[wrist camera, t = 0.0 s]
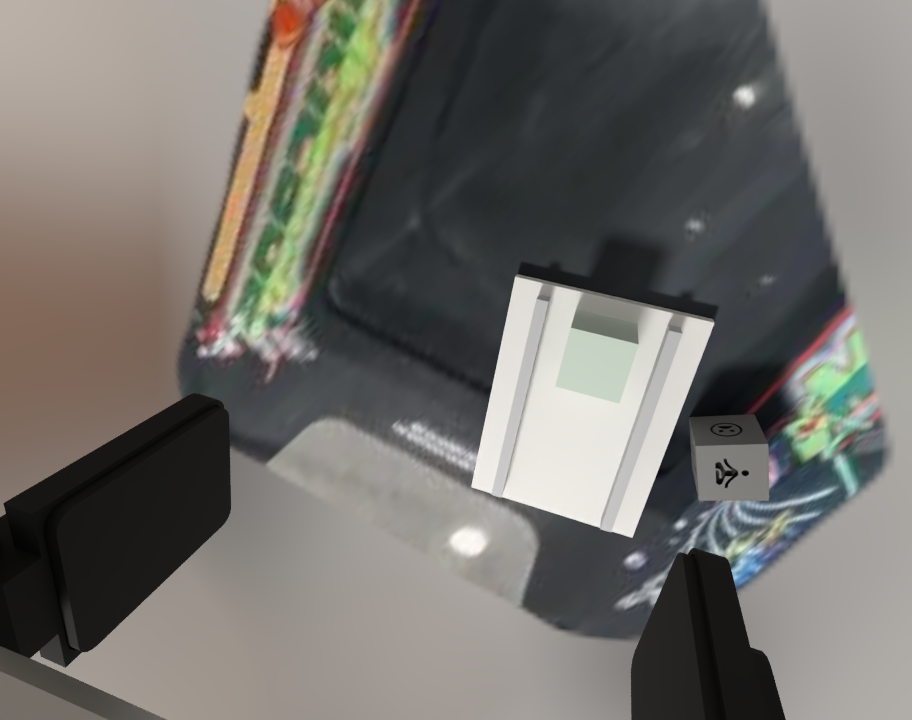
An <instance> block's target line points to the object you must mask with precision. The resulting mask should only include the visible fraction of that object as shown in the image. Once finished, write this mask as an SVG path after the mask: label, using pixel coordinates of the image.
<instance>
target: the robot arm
mask: <svg viewBox="0 0 912 720" xmlns="http://www.w3.org/2000/svg"><path fill="white" fill-rule="evenodd" d="M230 487H231V486H230V441H229V414H228V412H227V410H225V409H224V405H223V403H222V402H221V401H219V400H217V399H214V398H210V397H207V396H204V395H201V394H196V393H193V394H191V395H188V396H187V397H185V398H183V399H182V400H180V401H178V402H176V403H175V404H173V405H171V406H170V407H168V408H166V409H165V410H163V411H161V412H159V413H158V414H156V415H154V416H152V417H151V418H149V419H147V420H146V421H144V422H142V423H140V424H139V425H137V426H135V427H134V428H132V429H130V430H128V431H127V432H125V433H123V434H122V435H120V436H118V437H116V438H115V439H113V440H111V441H110V442H108V443H106V444H104V445H103V446H101V447H99V448H98V449H96V450H94V451H93V452H91V453H89V454H87V455H86V456H84V457H82V458H80V459H79V460H77V461H75V462H74V463H72V464H70V465H68V466H67V467H65V468H63V469H61V470H60V471H58V472H56V473H55V474H53V475H51V476H50V477H48V478H46V479H44V480H43V481H41V482H39V483H38V484H36V485H34V486H32V487H31V488H29V489H27V490H25V491H24V492H22V493H20V494H19V495H17V496H15V497H13V498H12V499H10V500H8V501H7V502H5V503H4V507H5V511H6V514H5V515H3V516H2V517H0V720H166V719H164V718H162V717H160V716H157V715H155V714H153V713H151V712H148V711H146V710H144V709H142V708H139V707H137V706H135V705H133V704H131V703H128V702H126V701H124V700H122V699H119V698H117V697H115V696H113V695H110V694H108V693H106V692H104V691H102V690H99V689H97V688H95V687H93V686H90V685H88V684H86V683H84V682H81V681H79V680H77V679H75V678H72V677H70V676H68V675H66V674H64V673H61V672H59V671H57V670H55V669H52V668H50V667H48V666H46V665H43V664H41V663H39V662H37V661H34V660H32V659H30V658H31V657H32V656H33V655H34V654H36V652H38V651H39V650H40V654H41V657H43V658H45V659H48V660H50V661H52V662H54V663H57V664H59V665H61V666H63V667H67V666H68V665H69V664H70V663H71V662H72V661H73V660H74V659H75V658H76V657H77V656H78V655H79V654H80V653H82V652H88V651H89V650H92V649H93V648H94V647H96V646H97V645H98V644H99V643H100V642H101V641H102V640H103V639H104V638H105V637H106V636H107V635H108V634H109V633H111V632H112V631H113V630H114V629H115V628H116V627H117V626H118V625H119V624H120V623H121V622H122V621H123V620H124V619H125V618H126V617H127V616H128V615H129V614H130V613H131V612H133V611H134V610H135V609H136V608H137V607H138V606H139V605H140V604H141V603H142V602H143V601H144V600H145V599H146V598H147V597H148V596H149V595H150V594H151V593H152V592H153V591H155V590H156V589H157V588H158V587H159V586H160V585H161V584H162V583H163V582H164V581H165V580H166V579H167V578H168V577H169V576H170V575H171V574H172V573H173V572H174V571H175V570H177V569H178V568H179V567H180V566H181V564H183V563H184V562H185V561H186V560H187V559H188V558H189V557H190V556H191V555H192V554H193V553H194V552H195V551H196V550H197V549H198V548H200V546H201V545H203V543H205V542H206V541H207V540H208V539H209V538H210V537H211V536H212V535H213V534H214V533H215V532H216V531H217V530H218V529H219V528H221V527H222V526H223V524H224V523H225V522H226V520H227V519H228V517H229V514H230V510H231V488H230ZM631 707H632V708H631V713H632V720H786V719H785V716H784V713H783V709H782V705H781V701H780V698H779V694H778V691H777V687H776V683H775V680H774V676H773V673H772V669H771V666H770V663H769V661H768V658H767V656H766V655H765V654H764V653H763V652H762V651H760V650H756V649H754V648H751V647H750V645H749V640H748V636H747V632H746V629H745V624H744V620H743V616H742V612H741V608H740V605H739V600H738V596H737V592H736V588H735V584H734V580H733V576H732V572H731V568H730V564H729V561H728V559H726V558H725V557H721V556H718V555H715V554H712V553H709V552H705V551H702V550H699V549H696V548H692V549H691V550H690V551H689V553H688V555H687V554H684V553H681V552H680V553H678V554H677V556H676V558H675V560H674V562H673V565H672V567H671V569H670V572H669V574H668V576H667V579H666V581H665V583H664V585H663V588H662V590H661V592H660V595H659V597H658V599H657V602H656V604H655V606H654V608H653V611H652V613H651V615H650V618H649V620H648V622H647V625H646V627H645V629H644V631H643V634H642V636H641V638H640V641H639V643H638V645H637V648H636V650H635V653H634V657H633V660H632V668H631Z"/></svg>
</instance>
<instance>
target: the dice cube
mask: <svg viewBox="0 0 912 720" xmlns="http://www.w3.org/2000/svg"><path fill="white" fill-rule="evenodd" d="M689 425H690V441H691V456H692V469H693V474H694V479H695V484H696V489H697V493H698V498H699V500H750V501H769V459H768V442H767V440H766V438H765V436H764V434H763V432H762V429H761V427H760V425H759V423H758V421H757V419H756V417H755V415H754V414H747V415H725V416H703V417H689Z"/></svg>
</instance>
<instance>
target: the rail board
mask: <svg viewBox="0 0 912 720" xmlns="http://www.w3.org/2000/svg"><path fill="white" fill-rule="evenodd" d="M713 326H714V321H713V319H711V318H706V317H702V316H698V315H693V314H689V313H684V312H680V311H676V310H671V309H667V308H663V307H658V306H654V305H650V304H645V303H641V302H637V301H632V300H628V299H624V298H619V297H615V296H611V295H606V294H602V293H598V292H593V291H589V290H585V289H580V288H576V287H571V286H567V285H563V284H558V283H554V282H550V281H545V280H541V279H537V278H532V277H528V276H524V275H519V274H517V275H516V277H515V281H514V286H513V290H512V295H511V300H510V305H509V309H508V314H507V319H506V324H505V329H504V333H503V338H502V343H501V348H500V352H499V357H498V362H497V367H496V372H495V376H494V381H493V386H492V391H491V395H490V400H489V405H488V410H487V414H486V419H485V424H484V429H483V434H482V438H481V443H480V448H479V453H478V457H477V462H476V467H475V472H474V476H473V481H472V486H471V487H473V488H476V489H479V490H482V491H485V492H488V493H492V494H491V495H494V496H497V497H500V498H501V497H504V498H507V499H511V500H514V501H517V502H520V503H523V504H527V505H530V506H533V507H536V508H539V509H542V510H546V511H549V512H552V513H555V514H558V515H562V516H565V517H568V518H571V519H574V520H577V521H581V522H584V523H587V524H590V525H593V526H596V527H600V529H602V530H605V531H608V532H611V531H612V532H616V533H619V534H622V535H625V536H628V537H631V538H632V537H633V535H634V532H635V529H636V527H637V524H638V521H639V519H640V516H641V514H642V511H643V508H644V506H645V503H646V501H647V498H648V495H649V493H650V490H651V488H652V485H653V482H654V480H655V477H656V474H657V472H658V469H659V467H660V464H661V461H662V459H663V456H664V454H665V451H666V448H667V446H668V443H669V441H670V438H671V435H672V433H673V430H674V427H675V425H676V422H677V420H678V417H679V414H680V412H681V409H682V407H683V404H684V401H685V399H686V396H687V394H688V391H689V388H690V386H691V383H692V380H693V378H694V375H695V373H696V370H697V367H698V365H699V362H700V360H701V357H702V354H703V352H704V349H705V347H706V344H707V341H708V339H709V336H710V333H711V331H712V328H713Z"/></svg>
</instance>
